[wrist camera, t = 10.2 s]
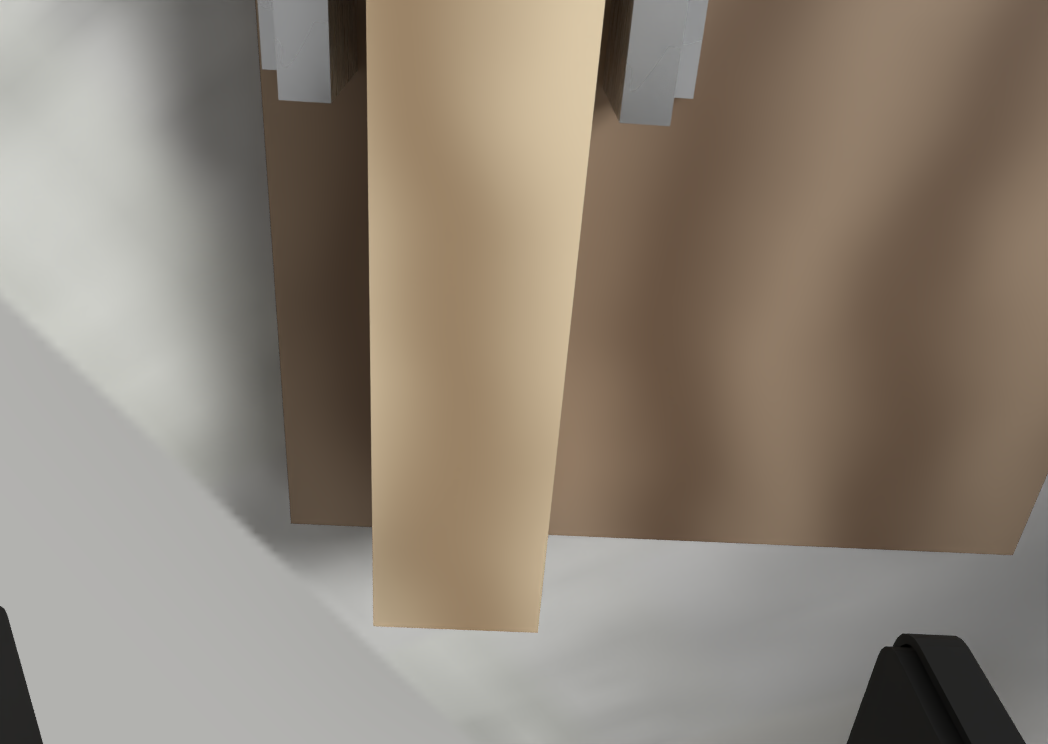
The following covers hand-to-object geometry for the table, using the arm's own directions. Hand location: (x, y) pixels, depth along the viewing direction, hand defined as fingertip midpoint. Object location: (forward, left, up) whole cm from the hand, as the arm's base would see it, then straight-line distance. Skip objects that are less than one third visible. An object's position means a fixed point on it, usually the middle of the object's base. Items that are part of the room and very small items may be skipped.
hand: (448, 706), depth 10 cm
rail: (0, -1, -14) cm, 14 cm away
